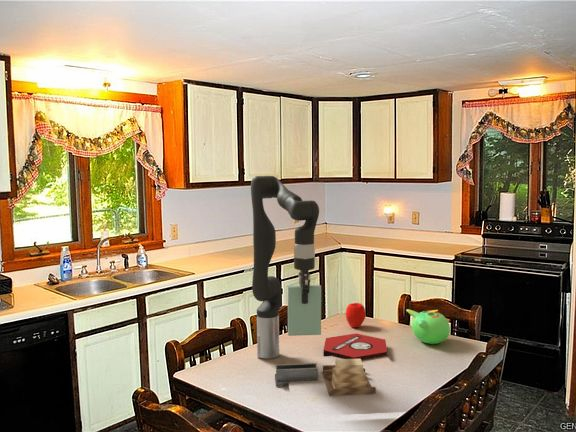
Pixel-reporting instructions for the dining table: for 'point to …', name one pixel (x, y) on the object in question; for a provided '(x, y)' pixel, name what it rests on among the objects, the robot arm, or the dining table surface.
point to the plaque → (355, 347)
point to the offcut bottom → (348, 384)
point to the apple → (355, 314)
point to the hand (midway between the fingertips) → (304, 302)
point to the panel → (304, 311)
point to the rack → (327, 378)
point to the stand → (295, 373)
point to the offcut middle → (349, 377)
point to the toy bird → (430, 326)
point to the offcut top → (348, 366)
